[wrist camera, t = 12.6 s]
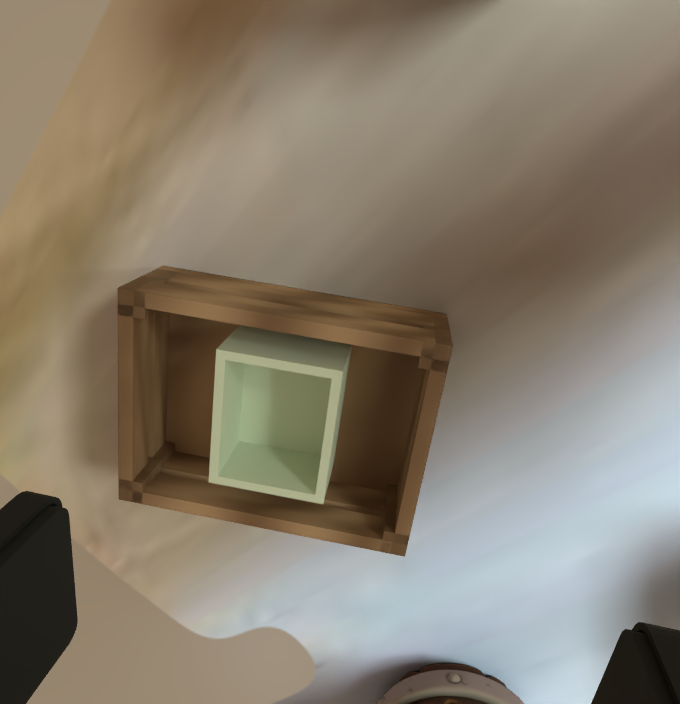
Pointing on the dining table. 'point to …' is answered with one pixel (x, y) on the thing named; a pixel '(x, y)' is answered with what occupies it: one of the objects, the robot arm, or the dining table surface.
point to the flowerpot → (449, 687)
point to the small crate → (277, 412)
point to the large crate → (198, 390)
